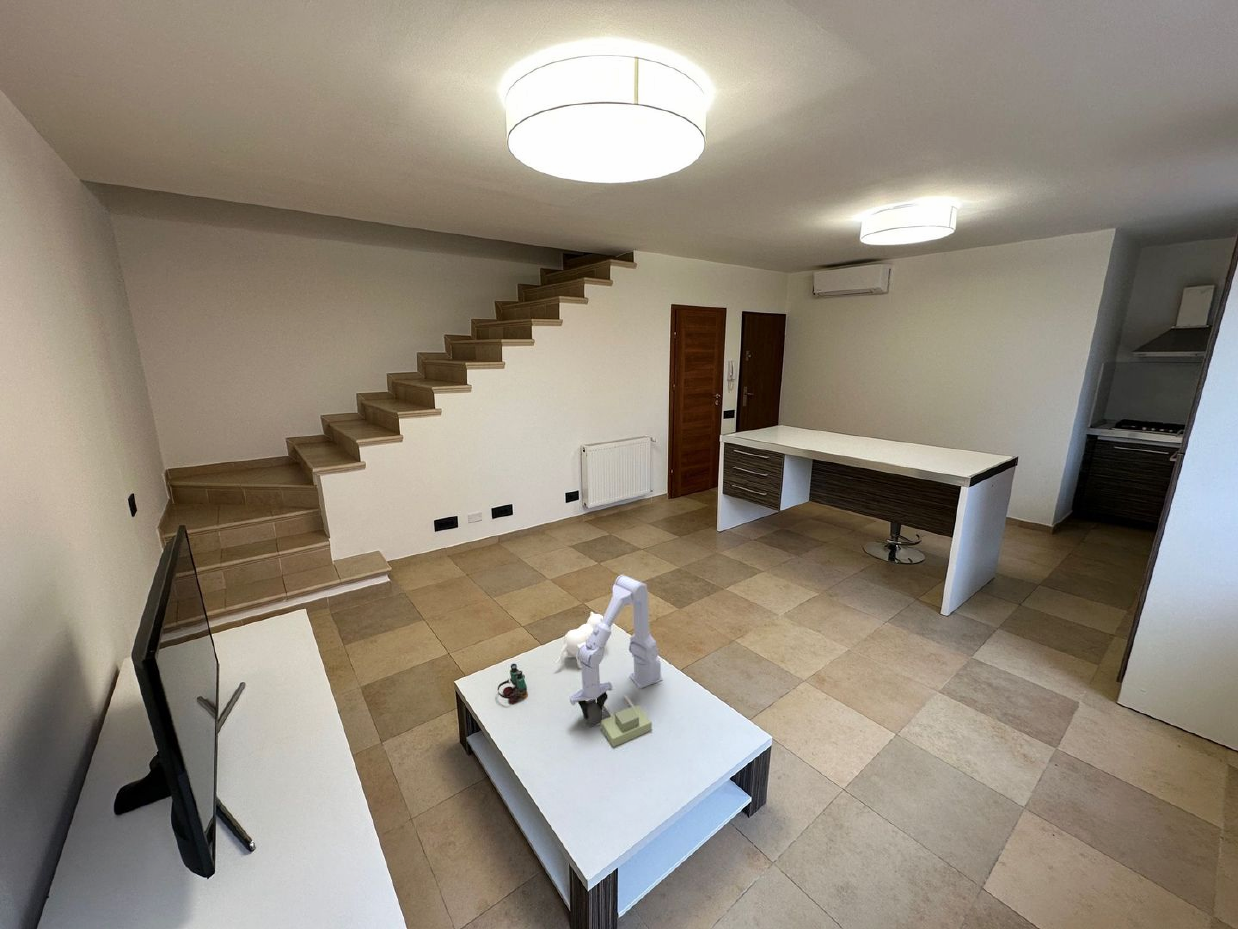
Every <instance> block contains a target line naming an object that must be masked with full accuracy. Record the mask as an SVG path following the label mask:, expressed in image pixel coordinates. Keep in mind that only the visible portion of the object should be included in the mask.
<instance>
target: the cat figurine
mask: <svg viewBox="0 0 1238 929" xmlns="http://www.w3.org/2000/svg"><path fill="white" fill-rule="evenodd" d="M603 617H604V615H602V614H599V613H594V612H593V611H590V613H589V617H588V618H587V622H586V623H583V624H581V626H579V627H578V628H575V629H571V630H569V631H568V632H567V633H566V634H565V635H564V639H563V640H564V641H563V647H562V648H561V650H560V652H559V657H558V659H557V660H556V661H555V664H558V663H560V662H561V660H562V659H563V655H564V653H566V657H568V658H569V659H571V658H576V663H577V667H578V668H579V669H582V668H581V665H580V661H579V660H578V659H577V655H578V651H579V649H580V647H581V646H582V645H584V644H586V643H587V641H588V639H589V637H590V635H591V633H592V631H593V629H594V627H595V626H596V624H598V623H600V622H602V619H603Z"/></svg>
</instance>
